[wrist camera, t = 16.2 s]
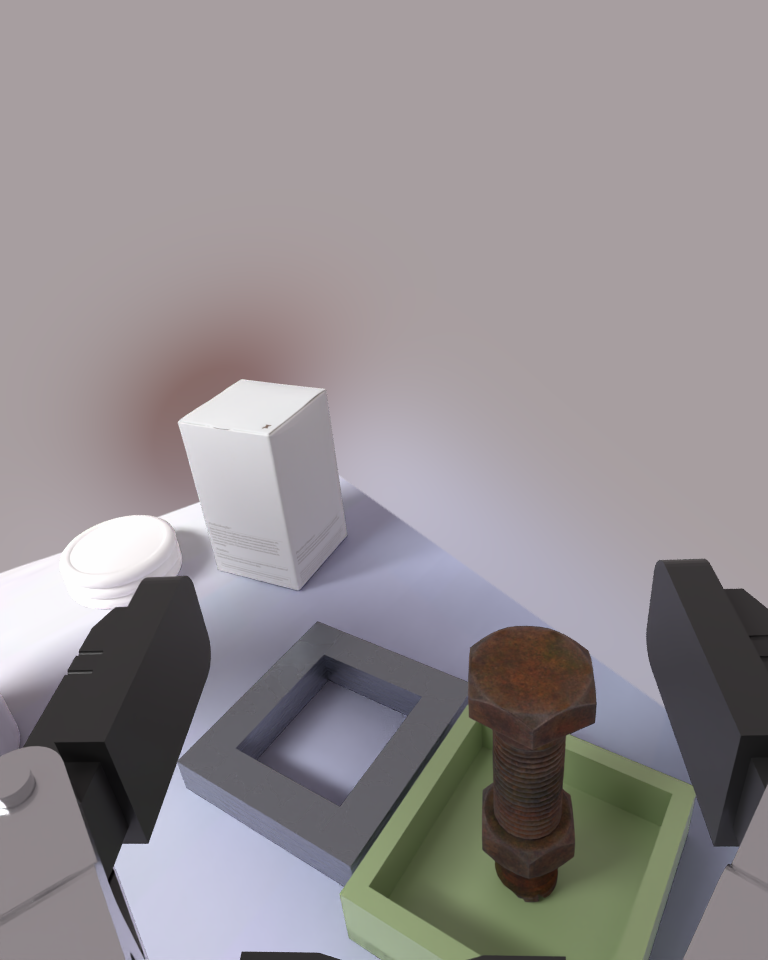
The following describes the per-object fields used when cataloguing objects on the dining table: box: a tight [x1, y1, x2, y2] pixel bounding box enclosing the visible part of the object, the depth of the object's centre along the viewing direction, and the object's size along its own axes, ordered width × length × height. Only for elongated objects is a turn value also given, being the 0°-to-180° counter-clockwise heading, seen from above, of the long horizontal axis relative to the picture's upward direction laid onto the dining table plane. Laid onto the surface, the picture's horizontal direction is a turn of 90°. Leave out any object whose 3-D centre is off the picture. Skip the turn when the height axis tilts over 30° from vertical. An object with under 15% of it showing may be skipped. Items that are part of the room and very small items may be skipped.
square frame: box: [177, 621, 468, 887], centre depth 46 cm, size 13×14×2 cm
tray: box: [340, 705, 696, 960], centre depth 37 cm, size 13×14×4 cm
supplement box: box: [178, 379, 347, 590], centre depth 62 cm, size 9×9×15 cm
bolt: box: [468, 626, 596, 903], centre depth 34 cm, size 6×5×15 cm
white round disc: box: [60, 515, 182, 609], centre depth 64 cm, size 10×10×4 cm
